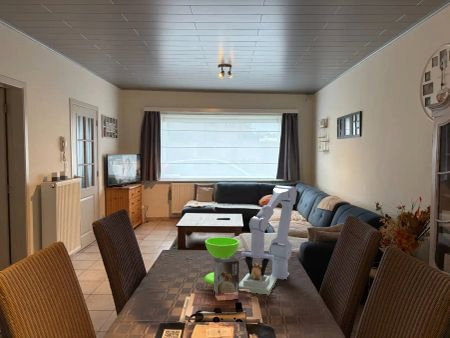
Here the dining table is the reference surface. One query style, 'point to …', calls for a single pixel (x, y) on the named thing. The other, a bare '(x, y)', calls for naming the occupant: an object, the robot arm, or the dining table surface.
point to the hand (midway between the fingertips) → (256, 274)
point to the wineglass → (220, 250)
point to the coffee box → (226, 275)
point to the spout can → (256, 272)
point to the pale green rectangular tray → (258, 284)
